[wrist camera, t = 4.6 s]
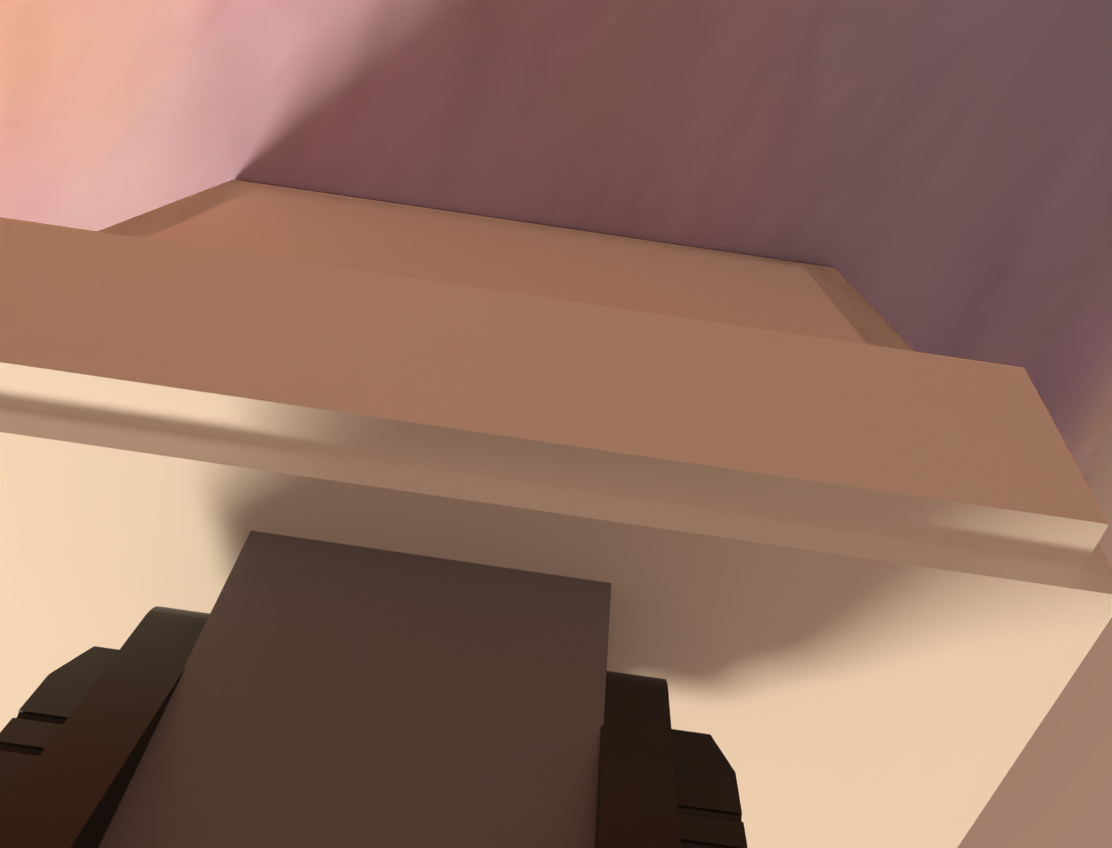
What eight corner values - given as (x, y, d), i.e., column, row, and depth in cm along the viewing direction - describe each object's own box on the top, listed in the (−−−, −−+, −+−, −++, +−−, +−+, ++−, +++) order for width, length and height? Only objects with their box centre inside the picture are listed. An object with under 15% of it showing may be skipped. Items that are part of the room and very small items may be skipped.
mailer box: (233, 179, 23) (49, 249, 15) (834, 267, 23) (942, 380, 15) (224, 790, 29) (94, 1045, 22) (689, 857, 29) (716, 1135, 22)
